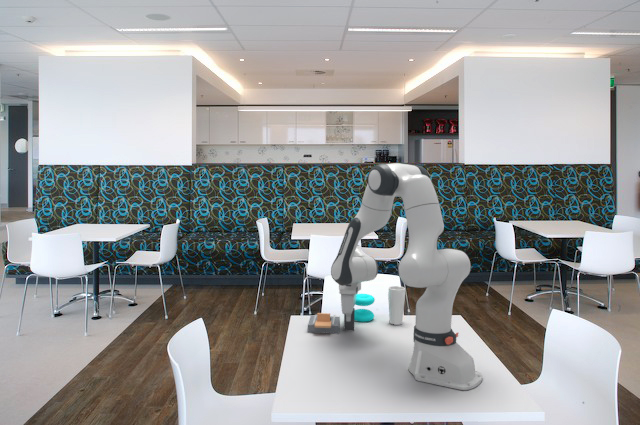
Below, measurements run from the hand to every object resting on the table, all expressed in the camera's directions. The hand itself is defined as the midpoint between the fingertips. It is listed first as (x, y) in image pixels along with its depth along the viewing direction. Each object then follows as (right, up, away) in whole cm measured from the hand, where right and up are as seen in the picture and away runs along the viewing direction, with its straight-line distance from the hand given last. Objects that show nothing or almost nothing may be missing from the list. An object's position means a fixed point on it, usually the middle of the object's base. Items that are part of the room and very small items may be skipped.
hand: (349, 318), depth 199 cm
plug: (0, -4, 0) cm, 4 cm away
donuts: (+6, -3, +14) cm, 15 cm away
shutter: (-10, -1, -5) cm, 12 cm away
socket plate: (-10, -4, +1) cm, 11 cm away
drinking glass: (+20, -4, +8) cm, 22 cm away
